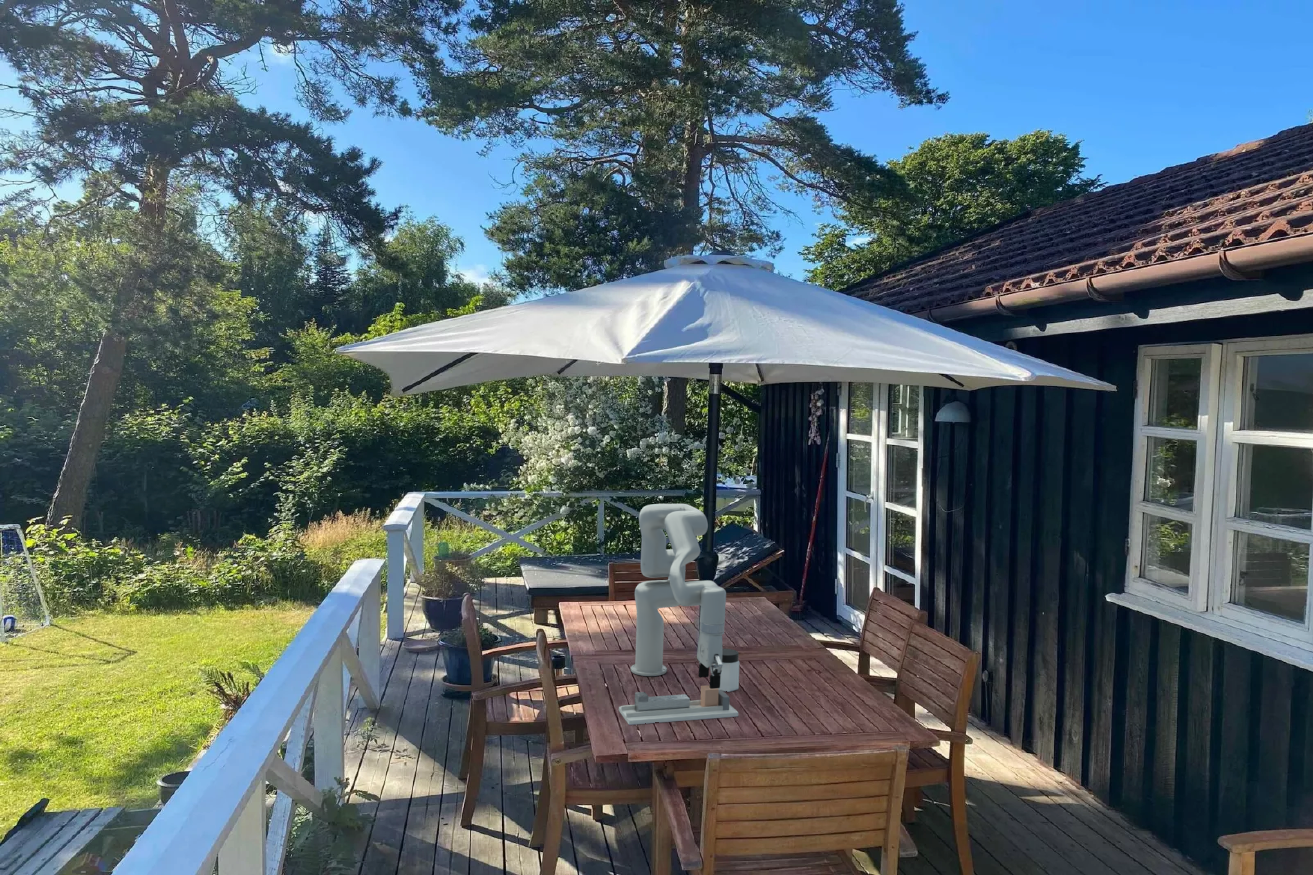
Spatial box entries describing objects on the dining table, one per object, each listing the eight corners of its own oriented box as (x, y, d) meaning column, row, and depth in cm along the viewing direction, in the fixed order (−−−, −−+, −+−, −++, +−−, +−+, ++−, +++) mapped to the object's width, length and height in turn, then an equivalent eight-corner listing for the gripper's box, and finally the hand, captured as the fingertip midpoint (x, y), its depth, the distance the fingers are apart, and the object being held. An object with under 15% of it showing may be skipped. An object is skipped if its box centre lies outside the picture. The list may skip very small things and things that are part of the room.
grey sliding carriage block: (634, 709, 257) (635, 692, 257) (685, 706, 262) (685, 689, 262) (638, 714, 253) (638, 696, 253) (689, 710, 258) (689, 693, 258)
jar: (725, 682, 291) (726, 646, 291) (743, 688, 285) (744, 652, 285) (706, 687, 285) (708, 651, 285) (725, 693, 279) (726, 657, 279)
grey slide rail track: (618, 710, 260) (619, 693, 260) (723, 703, 270) (724, 686, 270) (629, 724, 249) (629, 707, 248) (738, 716, 258) (738, 699, 258)
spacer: (700, 705, 264) (701, 685, 264) (713, 704, 265) (714, 685, 265) (704, 709, 260) (705, 690, 260) (717, 709, 261) (718, 689, 261)
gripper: (691, 620, 269) (688, 673, 270) (710, 636, 252) (707, 693, 253) (713, 619, 271) (710, 672, 272) (734, 635, 254) (730, 692, 255)
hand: (708, 682), depth 263 cm, fingers open, 9 cm apart
